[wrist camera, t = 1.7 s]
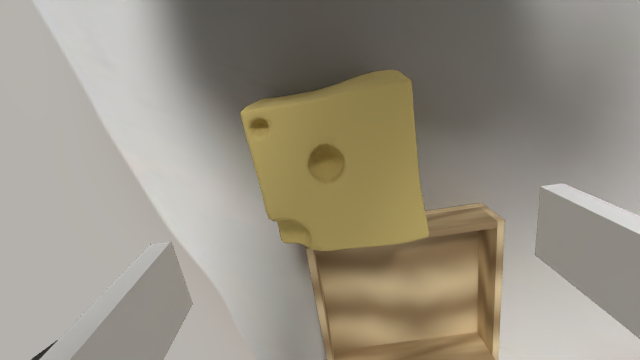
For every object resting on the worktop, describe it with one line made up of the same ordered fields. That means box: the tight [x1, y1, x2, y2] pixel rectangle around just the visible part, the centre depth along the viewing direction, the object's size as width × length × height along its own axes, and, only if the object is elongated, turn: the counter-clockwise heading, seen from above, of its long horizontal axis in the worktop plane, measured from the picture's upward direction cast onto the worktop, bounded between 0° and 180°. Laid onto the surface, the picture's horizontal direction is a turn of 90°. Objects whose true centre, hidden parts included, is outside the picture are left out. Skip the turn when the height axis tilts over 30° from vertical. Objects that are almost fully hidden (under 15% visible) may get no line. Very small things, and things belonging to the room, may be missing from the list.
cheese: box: [241, 70, 429, 251], centre depth 23 cm, size 10×11×10 cm
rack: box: [306, 203, 505, 360], centre depth 31 cm, size 21×17×5 cm
